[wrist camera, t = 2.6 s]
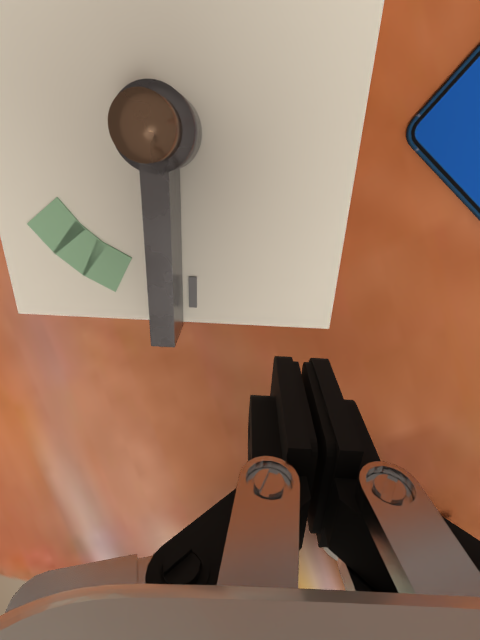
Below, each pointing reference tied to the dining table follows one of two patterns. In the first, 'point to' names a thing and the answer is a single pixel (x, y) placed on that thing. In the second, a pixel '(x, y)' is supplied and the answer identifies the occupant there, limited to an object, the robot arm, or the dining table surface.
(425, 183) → the dining table surface
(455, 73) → the smartphone
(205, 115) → the dial plate
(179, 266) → the grey lever handle
